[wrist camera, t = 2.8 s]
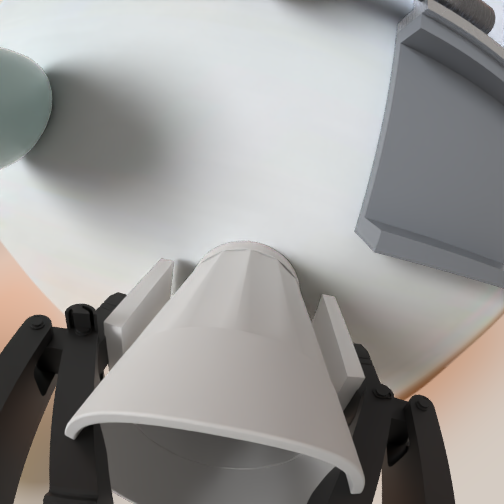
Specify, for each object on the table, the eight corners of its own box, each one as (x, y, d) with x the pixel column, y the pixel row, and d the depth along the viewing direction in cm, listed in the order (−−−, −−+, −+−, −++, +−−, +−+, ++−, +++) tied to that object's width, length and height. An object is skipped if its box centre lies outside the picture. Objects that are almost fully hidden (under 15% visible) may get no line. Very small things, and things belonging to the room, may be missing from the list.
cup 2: (281, 201, 15) (313, 369, 3) (331, 322, 17) (379, 509, 6) (153, 259, 16) (19, 413, 5) (217, 361, 18) (177, 527, 7)
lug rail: (399, -17, 9) (429, -49, 5) (527, 70, 9) (565, 65, 5) (396, 33, 11) (432, 4, 7) (527, 119, 11) (569, 121, 7)
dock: (396, 33, 11) (421, 13, 8) (527, 119, 11) (557, 120, 8) (354, 231, 15) (374, 252, 12) (492, 273, 15) (518, 292, 12)
